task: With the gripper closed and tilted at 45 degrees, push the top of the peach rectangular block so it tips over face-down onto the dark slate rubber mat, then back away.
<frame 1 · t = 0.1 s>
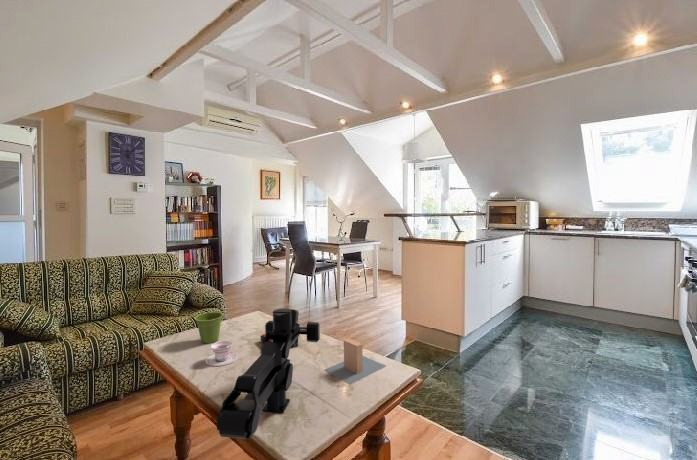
hand: (299, 323, 126), 17 cm above the table, tool horizontal, fingers open, 9 cm apart
red and grey box: (279, 345, 149), on the table
peach rectangular block: (353, 369, 124), resting on mat
mat: (355, 369, 125), on the table
plant pot: (209, 341, 153), on the table
teacup: (222, 360, 134), on the table
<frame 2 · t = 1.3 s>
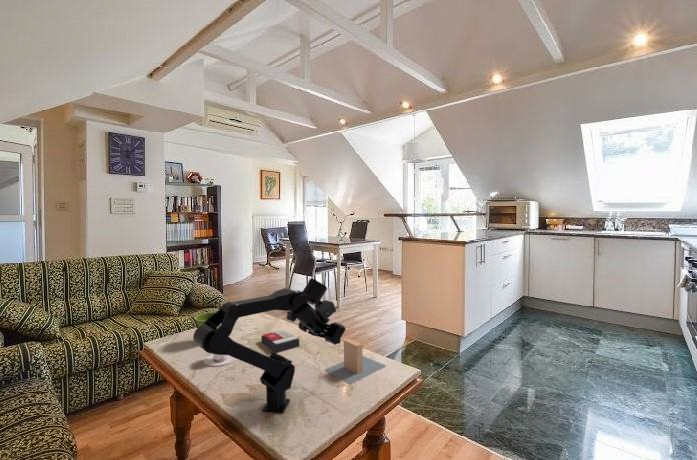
hand: (334, 340, 118), 14 cm above the table, tool tilted 45°, fingers open, 5 cm apart
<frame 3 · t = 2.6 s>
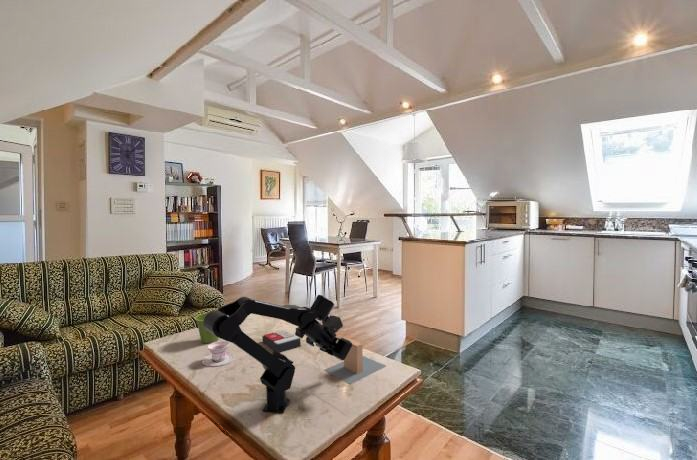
hand: (341, 354, 120), 8 cm above the table, tool tilted 45°, fingers closed
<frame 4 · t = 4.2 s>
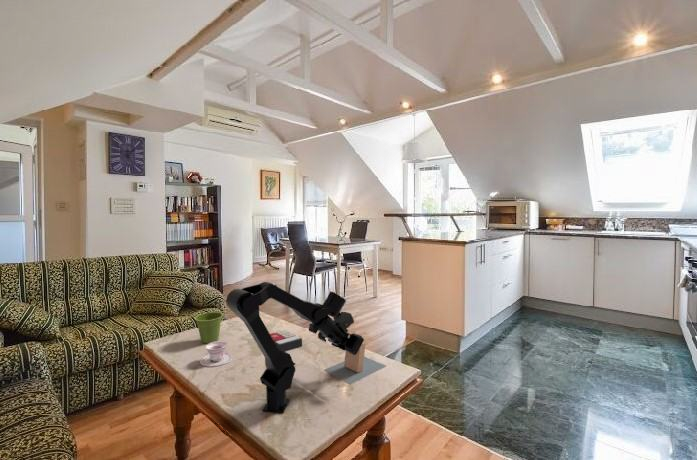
hand: (352, 349, 124), 8 cm above the table, tool tilted 45°, fingers closed
peach rectangular block: (353, 368, 124), point 1 cm above the table, tilted 9°, touching mat
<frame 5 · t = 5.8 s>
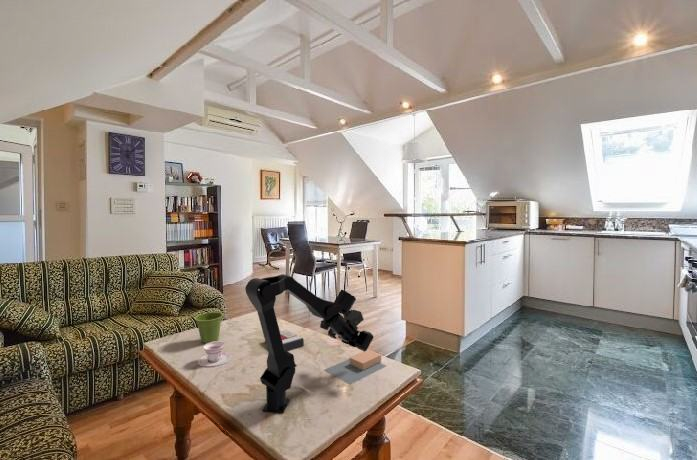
hand: (361, 346, 127), 8 cm above the table, tool tilted 45°, fingers closed
peach rectangular block: (355, 363, 125), point 2 cm above the table, tilted 90°, touching mat
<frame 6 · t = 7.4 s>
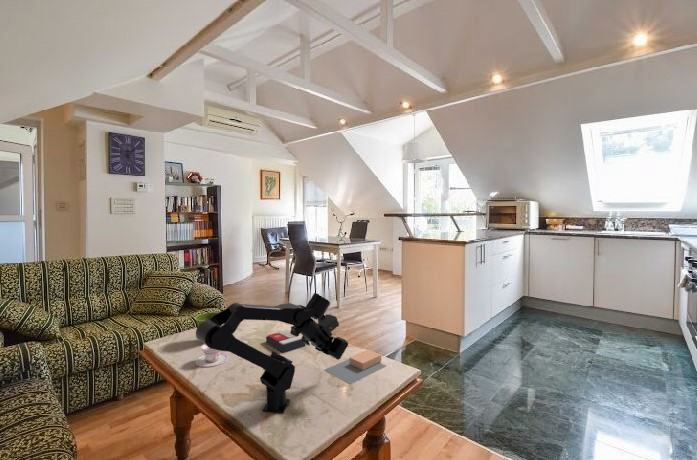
hand: (337, 353, 119), 8 cm above the table, tool tilted 45°, fingers closed
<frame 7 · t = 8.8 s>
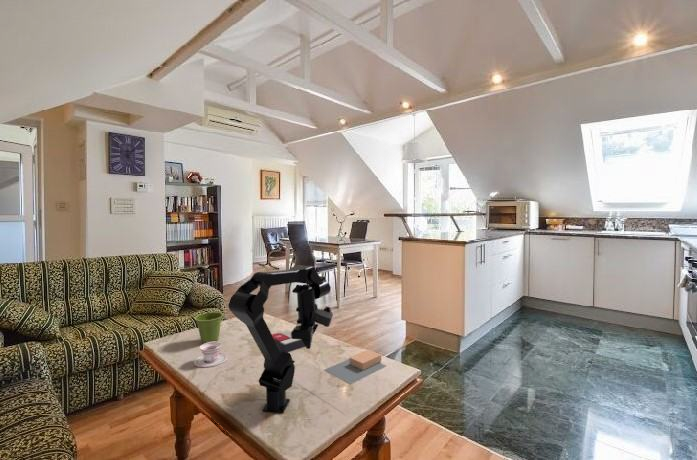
hand: (308, 348, 115), 12 cm above the table, tool pointing down, fingers closed
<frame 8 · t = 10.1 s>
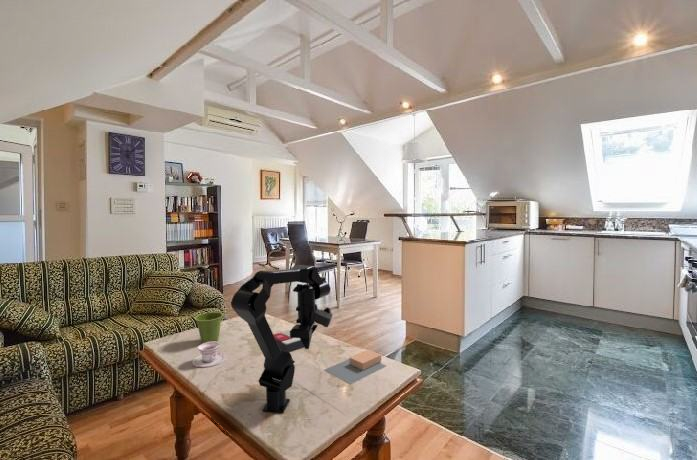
hand: (307, 348, 115), 12 cm above the table, tool pointing down, fingers closed
at the end: peach rectangular block tilted 90°; peach rectangular block inside the target area on the mat (0.3 cm from its centre), point 1.9 cm above the mat's base; peach rectangular block touching mat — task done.
